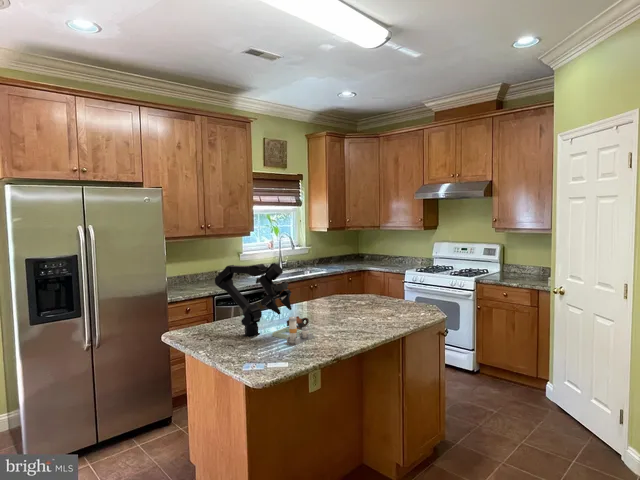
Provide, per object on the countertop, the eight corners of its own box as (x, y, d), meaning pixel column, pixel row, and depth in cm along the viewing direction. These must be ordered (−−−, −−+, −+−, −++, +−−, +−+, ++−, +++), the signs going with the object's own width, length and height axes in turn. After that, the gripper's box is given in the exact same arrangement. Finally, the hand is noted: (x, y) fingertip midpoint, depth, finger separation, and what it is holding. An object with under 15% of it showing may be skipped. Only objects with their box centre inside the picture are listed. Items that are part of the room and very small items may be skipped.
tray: (272, 338, 207) (272, 332, 207) (285, 332, 216) (285, 327, 215) (289, 341, 201) (289, 335, 201) (302, 335, 210) (302, 330, 209)
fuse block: (283, 345, 194) (282, 338, 194) (306, 336, 207) (306, 329, 207) (292, 348, 190) (292, 340, 190) (315, 338, 204) (315, 331, 203)
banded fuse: (288, 343, 195) (287, 318, 194) (292, 341, 198) (291, 316, 197) (294, 344, 193) (293, 318, 192) (298, 342, 196) (298, 317, 195)
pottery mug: (292, 334, 214) (286, 320, 216) (289, 338, 222) (283, 323, 224) (313, 325, 218) (306, 311, 220) (309, 329, 226) (303, 315, 229)
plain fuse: (300, 338, 202) (300, 328, 202) (305, 336, 205) (304, 326, 205) (306, 339, 200) (306, 329, 200) (310, 337, 203) (310, 327, 202)
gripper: (266, 279, 194) (284, 306, 190) (289, 273, 210) (306, 298, 206) (252, 292, 199) (270, 319, 194) (276, 286, 215) (292, 311, 210)
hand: (285, 311), depth 201 cm, fingers open, 9 cm apart
